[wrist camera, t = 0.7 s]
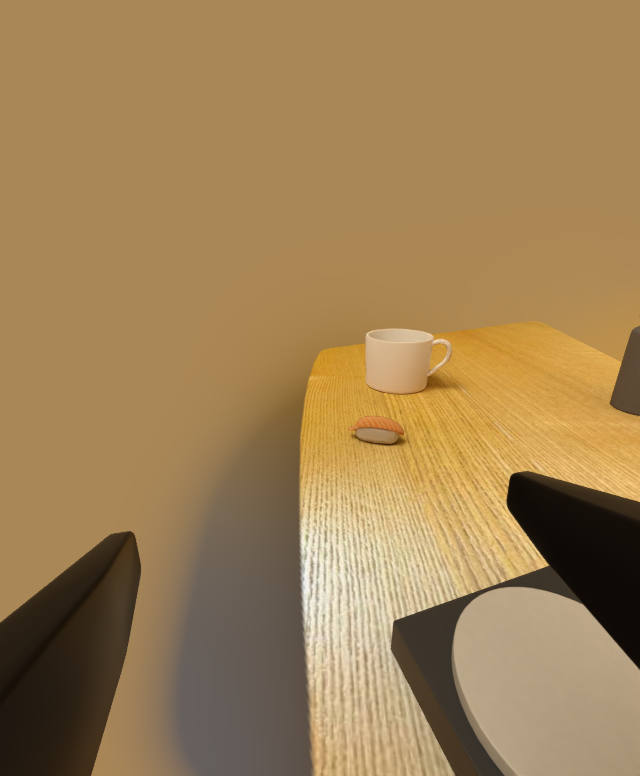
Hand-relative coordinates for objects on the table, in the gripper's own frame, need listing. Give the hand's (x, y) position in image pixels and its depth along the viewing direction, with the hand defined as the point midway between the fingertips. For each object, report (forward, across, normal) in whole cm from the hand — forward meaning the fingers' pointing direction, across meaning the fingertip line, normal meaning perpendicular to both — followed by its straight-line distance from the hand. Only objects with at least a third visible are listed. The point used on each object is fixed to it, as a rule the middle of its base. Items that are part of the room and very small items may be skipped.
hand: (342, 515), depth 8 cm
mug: (+46, -24, +12) cm, 53 cm away
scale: (+2, -11, +15) cm, 18 cm away
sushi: (+29, -12, +13) cm, 34 cm away
